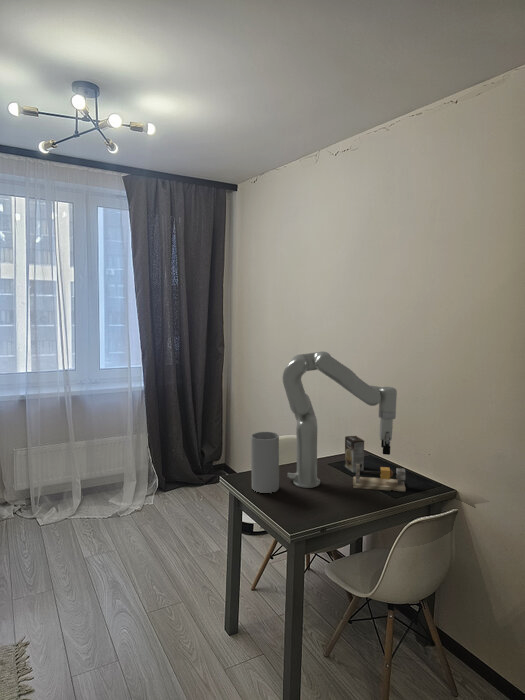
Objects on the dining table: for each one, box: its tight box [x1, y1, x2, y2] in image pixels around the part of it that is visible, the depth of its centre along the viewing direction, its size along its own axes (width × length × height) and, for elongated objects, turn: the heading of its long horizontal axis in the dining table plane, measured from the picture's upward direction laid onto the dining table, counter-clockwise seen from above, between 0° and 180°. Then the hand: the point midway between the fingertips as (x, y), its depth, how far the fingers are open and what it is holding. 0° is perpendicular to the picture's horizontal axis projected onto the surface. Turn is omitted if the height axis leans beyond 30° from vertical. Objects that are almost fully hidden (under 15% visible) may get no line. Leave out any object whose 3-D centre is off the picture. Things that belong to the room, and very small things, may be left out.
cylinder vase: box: [250, 431, 280, 494], centre depth 209 cm, size 12×12×25 cm
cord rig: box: [352, 464, 407, 492], centre depth 213 cm, size 23×10×9 cm, turn 79°
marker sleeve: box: [379, 466, 391, 480], centre depth 212 cm, size 4×4×4 cm
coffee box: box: [344, 435, 365, 474], centre depth 233 cm, size 9×6×16 cm
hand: (385, 450), depth 211 cm, fingers open, 9 cm apart
